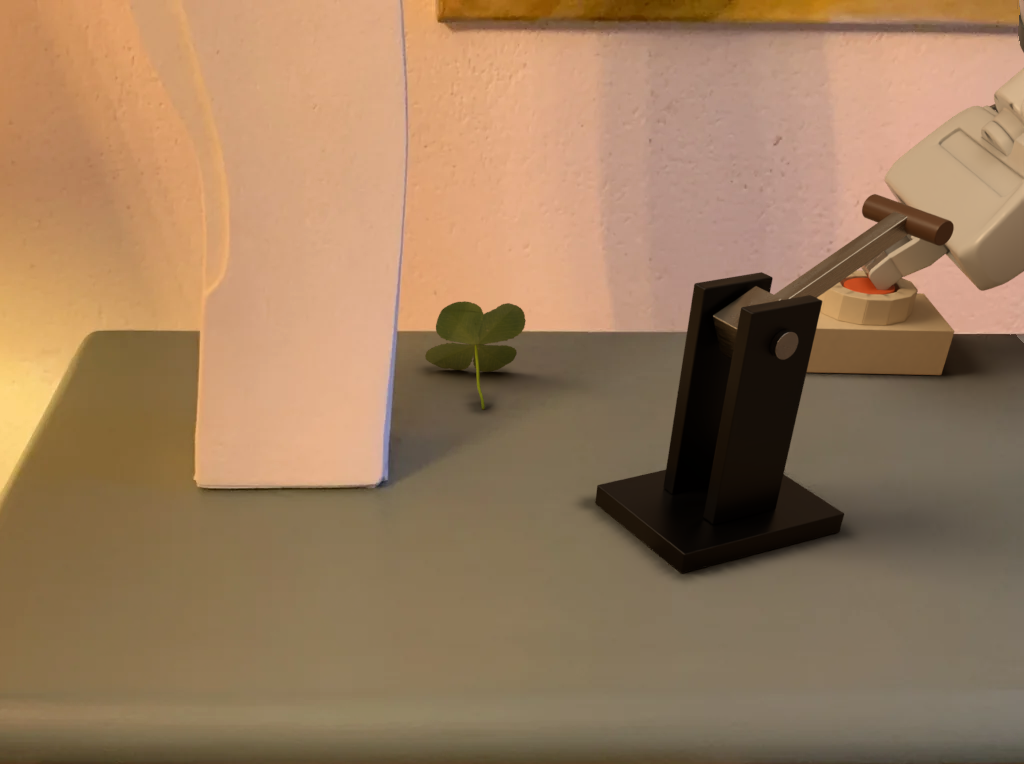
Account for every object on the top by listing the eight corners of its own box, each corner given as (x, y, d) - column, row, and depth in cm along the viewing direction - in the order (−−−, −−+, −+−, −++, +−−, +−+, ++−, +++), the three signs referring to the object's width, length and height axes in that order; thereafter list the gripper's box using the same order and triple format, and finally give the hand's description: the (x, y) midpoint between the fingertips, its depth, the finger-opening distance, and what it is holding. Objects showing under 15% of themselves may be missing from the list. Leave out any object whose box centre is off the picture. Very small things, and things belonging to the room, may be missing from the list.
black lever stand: (744, 468, 73) (787, 253, 64) (839, 532, 66) (901, 303, 58) (594, 503, 69) (619, 280, 60) (681, 573, 63) (722, 336, 54)
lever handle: (881, 220, 63) (877, 178, 61) (955, 248, 60) (953, 204, 58) (702, 344, 63) (693, 305, 61) (765, 379, 59) (757, 340, 58)
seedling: (468, 457, 85) (463, 381, 87) (556, 409, 80) (548, 329, 82) (401, 417, 80) (397, 337, 81) (491, 362, 75) (484, 279, 76)
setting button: (882, 302, 86) (888, 277, 85) (894, 319, 84) (901, 294, 82) (833, 301, 86) (839, 276, 85) (844, 318, 84) (850, 293, 82)
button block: (912, 335, 90) (931, 268, 87) (941, 375, 84) (963, 304, 81) (770, 332, 90) (783, 265, 87) (789, 372, 84) (804, 301, 81)
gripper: (981, 59, 83) (814, 204, 90) (1093, 125, 68) (882, 294, 75) (1022, 129, 86) (857, 265, 93) (1138, 208, 71) (931, 363, 78)
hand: (869, 279), depth 84 cm, fingers closed, pressing on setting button
